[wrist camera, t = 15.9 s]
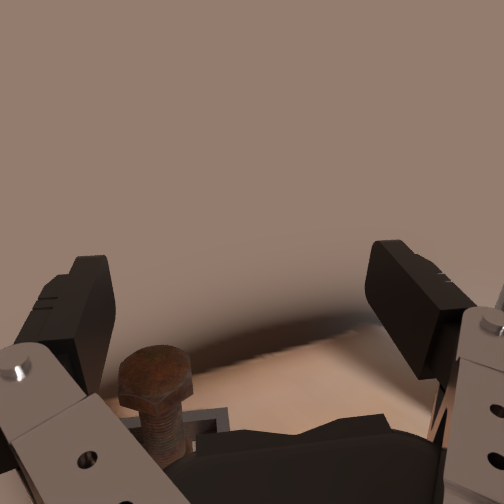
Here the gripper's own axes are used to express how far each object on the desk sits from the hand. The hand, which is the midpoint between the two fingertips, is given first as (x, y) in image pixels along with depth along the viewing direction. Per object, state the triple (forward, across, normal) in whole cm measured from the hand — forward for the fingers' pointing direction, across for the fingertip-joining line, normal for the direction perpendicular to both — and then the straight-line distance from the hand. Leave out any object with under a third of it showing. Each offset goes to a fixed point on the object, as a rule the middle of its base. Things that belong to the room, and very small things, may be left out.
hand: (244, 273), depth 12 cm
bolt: (+12, +5, +30) cm, 33 cm away
